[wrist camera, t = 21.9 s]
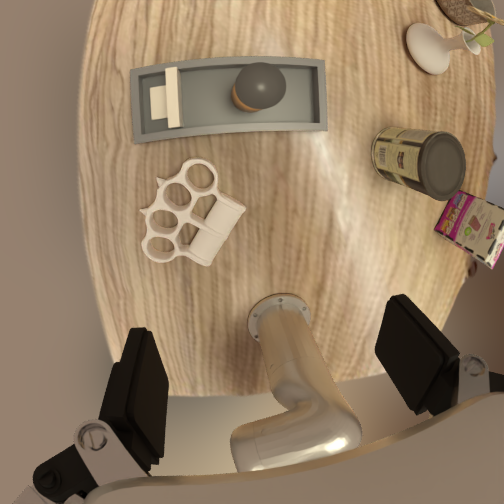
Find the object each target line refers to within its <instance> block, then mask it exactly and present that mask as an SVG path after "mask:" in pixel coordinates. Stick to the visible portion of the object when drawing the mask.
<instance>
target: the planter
mask: <svg viewBox="0 0 504 504" xmlns="http://www.w3.org/2000/svg"><path fill="white" fill-rule="evenodd" d="M437 2H438V4H439V5H440V7H441V8H442V10H443V11H444V12H445V14H446V15H447V16H448V17H449V18H450V19H451V20H453V21H454V22H455V23H457V24H459V25H461V26H468V25H474V24H479V23H486V22H488V21H487V19H486V18H484V17H482V16H480V15H478V14H476V13H474V12H472V11H470V10H468V9H469V8H467V7H469V6H472V7H474V8H476V9H479V10H481V11H483V12H484V11H485V12H487V13H489V14H491V15H493V16H495V17H496V10H495V6H494V4H493V1H492V0H437ZM468 5H469V6H468Z"/></svg>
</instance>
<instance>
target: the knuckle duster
mask: <svg viewBox="0 0 504 504" xmlns="http://www.w3.org/2000/svg"><path fill="white" fill-rule="evenodd" d="M194 164H203V165H205V166H207V167H208V168H209V169H210V170H211V171H212V173H213V175H214V181H213V183H212V184H211V185H210V186H209V187H207V188H198V187H196V186H195V185H193V183H192V182H191V181H190V180H189V179H188V175H187V172H188V168H189V167H190V166H192V165H194ZM156 180H157V183H158V186H159V188H158V189H157V196H156V199H155V201H154V202H153V203H152V204H151V205H150V206H149V207H148V208H144V209H140V210H139V211H140V212H141V213H142V214H144V215H145V216H146V218H145V222H146V226H147V233H146V235H145V236H144V238H143V240H142V242H141V245H142V249H143V252H144V253H145V255H146V256H147V257H148V258H149V259H151V260H153V261H155V262H159V263H165V262H169V261H171V260H173V259H174V258H175V257H176V256H186V257H188V258H190V259H192V260H193V261H195V262H197V263H199V264H201V265H204V266H209V265H211V263H212V260H213V259H214V257H215V256H216V254H217V253H218V251H219V249H220V248H221V246H222V245H223V243H224V241H225V240H227V238H228V235H229V234H230V232H231V230H232V229H233V227H234V226H235V224H236V223H237V221H238V220H239V218H240V216H241V215H242V213H244V212H245V210H246V206H245V205H243V204H242V203H241V202H239V201H238V200H236V199H234V198H232V197H231V196H229V195H227V194H225V193H222V192H220V191H219V188H218V186H217V185H218V172H217V169H216V167H215V166H214V164H213V163H212V162H211V161H210V160H208V159H206V158H203V157H193V158H190V159H188V160H186V161H185V162H184V163H183V165H182V168H181V170H180V172H179V173H178V174H176V175H175V176H172V177H169V178H168V179H167V180H165V179H162V178H158V177H156ZM171 183H180V184H182V185H184V186H185V187H186V188H187V190H188V191H189V192H190V194H191V198H192V199H191V201H190V202H189V203H188V204H187V205H184V206H178V205H176V204H174V203H173V202H172V201H171V200H170V199H169V198H168V196H167V193H166V189H167V186H168V185H169V184H171ZM210 194H213V195H215V196H216V198H217V201H216V202H215V204H214V205H213V207H212V209H211V210H210V212H209V214H208V215H207V217H206V219H203V218H201V217H199V216H198V215H196V214H194V213H193V212H192V209H193V207H194V205H195V204H196V202H197V200H198V198H199V197H202V196H207V195H210ZM157 210H166V211H170V212H172V213H174V214H175V215H176V217H177V219H178V224H177V225H176V226H174V227H172V228H166V227H161V226H159V225H157V224H156V222H155V221H154V218H153V213H154V212H155V211H157ZM185 223H191V224H193V225H194V226H196V227H198V228H200V229H199V230H198V232H197V234H196V236H195V237H194V239H193V241H192V242H191V244H190V245H183V244H182V243H181V242H180V237H179V235H178V233H179V232H180V230H181V228H182V226H183V225H184V224H185ZM153 237H163V238H167V239H169V240H170V241H171V242H172V243H173V244H174V249H173V250H172V251H170V252H162V251H158V250H156V249H155V248H154V247H153V246H152V244H151V239H152V238H153Z"/></svg>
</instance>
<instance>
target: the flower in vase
mask: <svg viewBox="0 0 504 504" xmlns="http://www.w3.org/2000/svg"><path fill="white" fill-rule="evenodd" d="M468 6H469V5H468ZM467 8H469V9H468V10H470V11H472V12H474V13H476V14H478V15H480V16H482V17H484V18H486V19H487V21H488V22H489V23H490V24H489V25H488V26H487V27H486V28H485V29H484V30H483V31H482V32H480V33H478V34H477V35H475V33H474V32H473V31H472V30H471V29H470V28H467V27H465V28H462V27H459V28H460V29H462V32H461V34H460V35H458V36H456V37H453V38H449V39H443V37H442V36H441V35H440V34H439V33H438V32H437V31H436V30H435V29H433V28H432V27H431V26H429V25H426V24H423V23H414V24H412V25H411V26H410V27H409V28H408V31H407V35H406V41H407V46H408V49H409V52H410V54H411V56H412V57H413V59H414V60H415V62H416V63H417V64H418V65H419V66H420V67H421V68H422V69H423V70H425V71H426V72H428V73H430V74H433V75H440V74H442V73H443V72H445V71H446V70H447V68H448V66H449V61H450V53H449V51H450V50H454V49H465V50H469V51H470V52H472V53H473V54H476V55H477V54H479V53H480V45H481V46H482V47H486V46H488V45H490V44H491V43H493V42H494V40H493V39H492V38H490V37H489V36H487V35H486V34H484V32H485V31H486V30H487V29H488V28H489V27H490V26H491V25H492V24H494V23H495V22H496V23H498V24H500V25H503V26H504V20H502V19H499V18H497V17H495V16H493V15H491V14H489V13H487V12H485V11H484V12H483V11H481V10H479V9H476V8H474V7H472V6H469V7H467ZM455 27H458V26H455Z"/></svg>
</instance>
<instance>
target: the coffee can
mask: <svg viewBox="0 0 504 504" xmlns="http://www.w3.org/2000/svg"><path fill="white" fill-rule="evenodd" d="M371 156H372V162H373V165H374V168H375V169H376V171H377V173H378V174H379V175H380V176H381V177H383V178H384V179H386V180H388V181H392V182H395V183H398V184H401V185H403V186H406V187H409V188H411V189H414V190H416V191H419V192H421V193H423V194H426V195H428V196H430V197H432V198H433V199H435V200H438V201H446V200H449V199H451V198H452V197H453V196H455V195H456V193H457V192H458V191H459V189H460V188H461V186H462V183H463V180H464V177H465V171H466V159H465V154H464V150H463V148H462V146H461V144H460V142H459V141H458V139H457V138H456V137H455V136H454V135H452V134H451V133H448V132H436V131H427V130H417V129H406V128H396V127H389V128H386V129H383V130H382V131H381V132H379V134H378V135H377V136H376V138H375V139H374V142H373V145H372V151H371Z"/></svg>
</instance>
